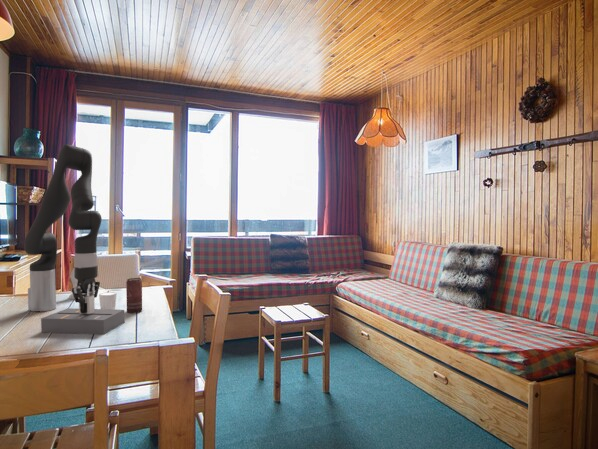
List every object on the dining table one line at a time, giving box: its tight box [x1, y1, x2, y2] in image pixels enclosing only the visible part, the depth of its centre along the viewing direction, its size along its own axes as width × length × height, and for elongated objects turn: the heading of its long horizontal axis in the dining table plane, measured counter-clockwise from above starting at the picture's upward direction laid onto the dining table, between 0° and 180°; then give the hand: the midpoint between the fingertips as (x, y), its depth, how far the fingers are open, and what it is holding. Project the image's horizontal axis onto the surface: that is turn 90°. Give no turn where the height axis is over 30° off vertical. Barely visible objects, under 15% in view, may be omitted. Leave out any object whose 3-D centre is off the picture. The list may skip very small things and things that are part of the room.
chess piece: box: [68, 267, 84, 300], centre depth 194 cm, size 10×10×15 cm
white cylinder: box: [98, 291, 117, 310], centre depth 170 cm, size 7×7×7 cm
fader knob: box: [78, 296, 96, 315], centre depth 144 cm, size 4×3×8 cm
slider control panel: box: [40, 307, 125, 335], centre depth 145 cm, size 23×14×5 cm, turn 86°
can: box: [125, 277, 143, 314], centre depth 167 cm, size 6×6×14 cm
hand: (86, 311), depth 145 cm, fingers closed on fader knob, 3 cm apart
